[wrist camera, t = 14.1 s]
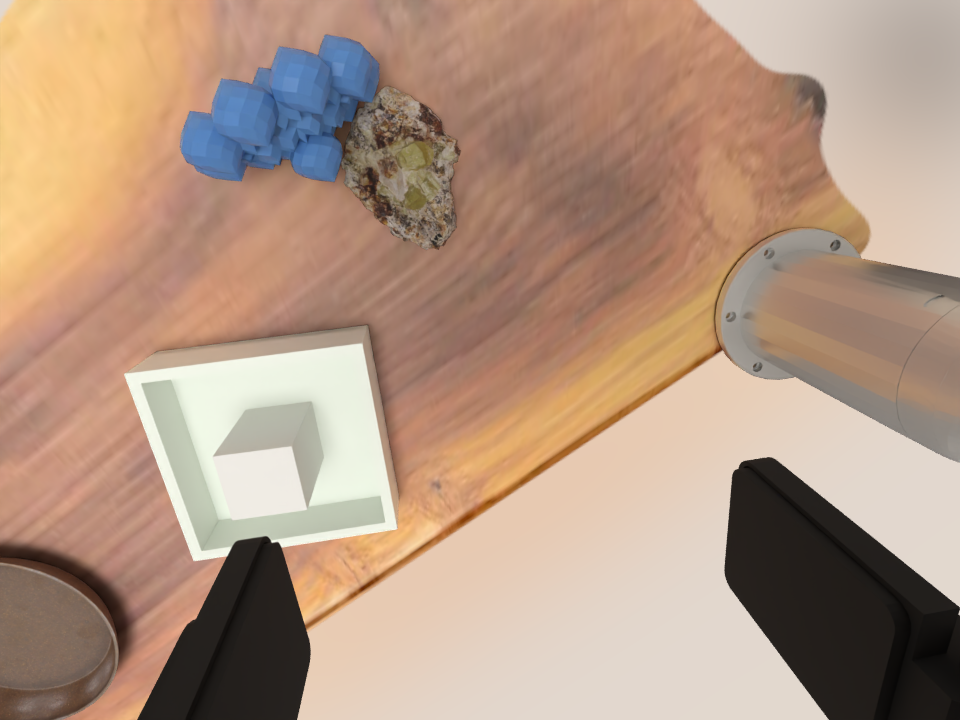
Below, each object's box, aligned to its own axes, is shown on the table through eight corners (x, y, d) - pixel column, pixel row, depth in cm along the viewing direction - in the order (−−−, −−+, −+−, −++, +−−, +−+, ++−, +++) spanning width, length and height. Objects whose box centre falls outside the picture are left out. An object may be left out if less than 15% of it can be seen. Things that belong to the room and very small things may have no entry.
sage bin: (367, 324, 39) (362, 343, 35) (399, 495, 45) (397, 529, 40) (156, 351, 38) (124, 373, 34) (215, 523, 43) (193, 561, 39)
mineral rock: (304, 121, 32) (417, 66, 30) (330, 118, 36) (432, 69, 34) (380, 277, 36) (484, 238, 34) (396, 259, 40) (491, 223, 38)
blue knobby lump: (277, 225, 36) (214, 249, 25) (210, 134, 34) (108, 116, 22) (417, 135, 35) (418, 117, 24) (359, 34, 33) (330, -37, 21)
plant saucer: (-134, 553, 41) (-175, 582, 38) (100, 525, 43) (77, 550, 40) (-42, 707, 47) (-71, 741, 44) (159, 677, 49) (143, 709, 46)
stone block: (311, 401, 40) (291, 446, 33) (324, 456, 42) (307, 509, 35) (245, 409, 39) (212, 456, 33) (260, 465, 41) (232, 520, 35)
